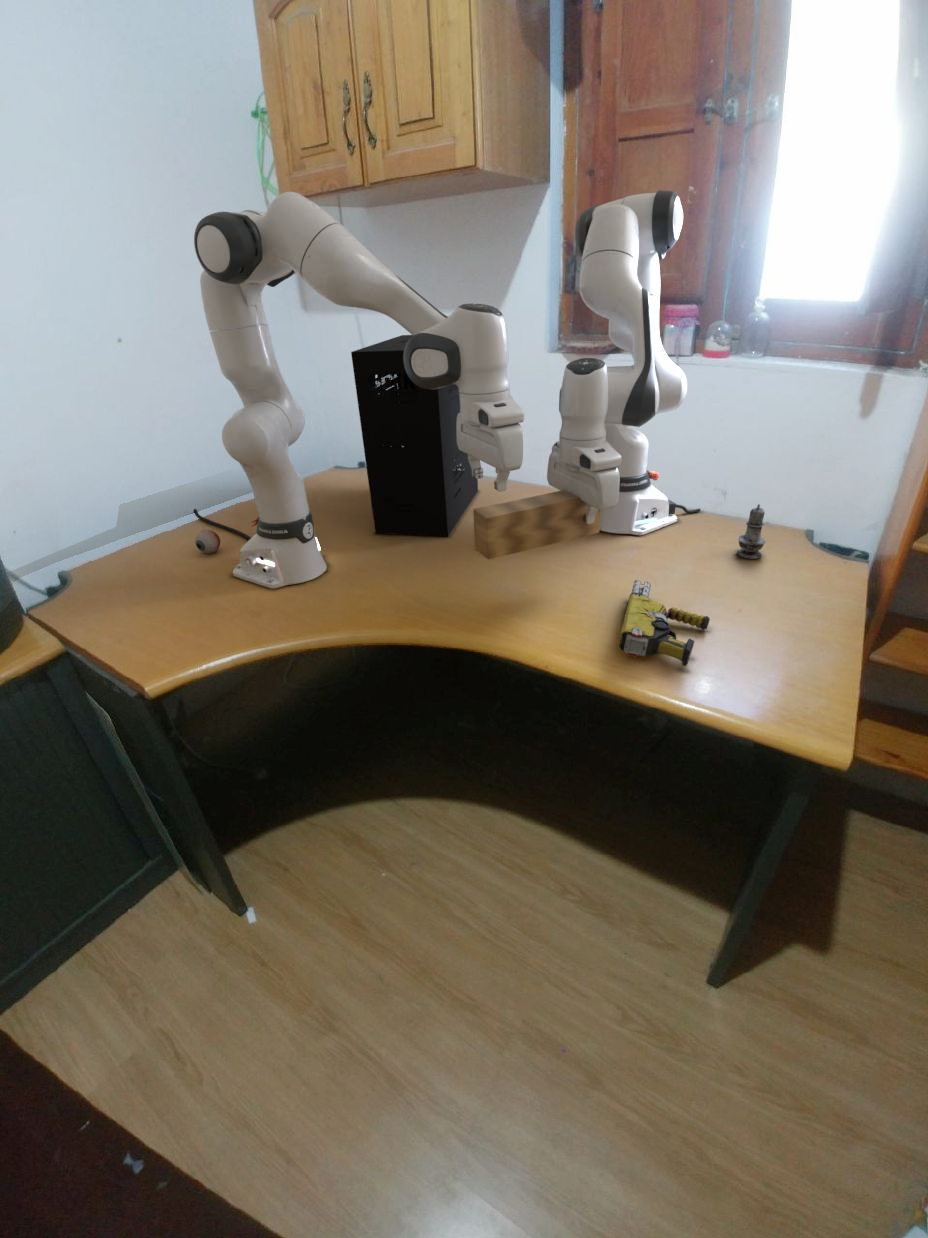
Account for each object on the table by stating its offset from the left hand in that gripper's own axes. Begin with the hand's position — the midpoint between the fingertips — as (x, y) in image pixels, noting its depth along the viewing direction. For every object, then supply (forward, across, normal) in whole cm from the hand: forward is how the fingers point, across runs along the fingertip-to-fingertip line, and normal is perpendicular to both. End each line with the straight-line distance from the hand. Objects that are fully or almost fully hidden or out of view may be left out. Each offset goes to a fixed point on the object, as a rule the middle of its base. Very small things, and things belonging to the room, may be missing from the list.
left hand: (488, 483), depth 113 cm
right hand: (+11, +1, +20) cm, 23 cm away
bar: (+14, 0, +10) cm, 17 cm away
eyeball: (+24, -61, -52) cm, 83 cm away
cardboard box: (+25, -59, +9) cm, 65 cm away
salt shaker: (+26, +9, +61) cm, 67 cm away
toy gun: (+26, +26, +22) cm, 43 cm away
